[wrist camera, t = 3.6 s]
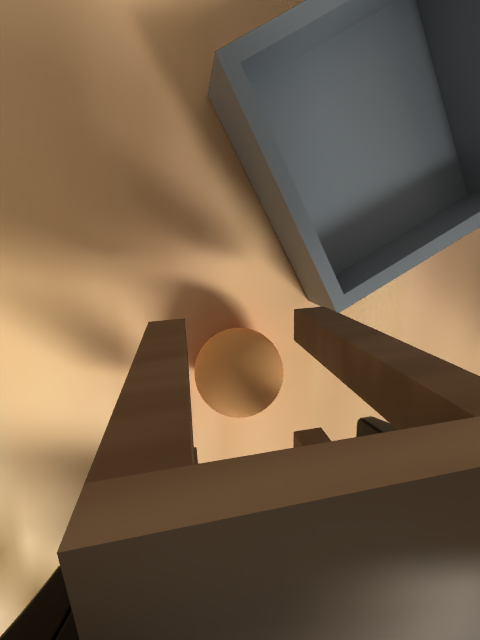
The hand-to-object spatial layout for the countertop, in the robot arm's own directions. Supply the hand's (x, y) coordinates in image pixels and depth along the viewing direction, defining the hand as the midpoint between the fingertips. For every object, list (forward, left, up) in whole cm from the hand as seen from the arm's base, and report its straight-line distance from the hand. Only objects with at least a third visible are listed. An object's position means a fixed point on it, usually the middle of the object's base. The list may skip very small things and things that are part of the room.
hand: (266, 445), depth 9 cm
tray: (-10, -5, -7) cm, 14 cm away
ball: (0, 0, -5) cm, 5 cm away
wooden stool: (0, 0, -3) cm, 3 cm away
